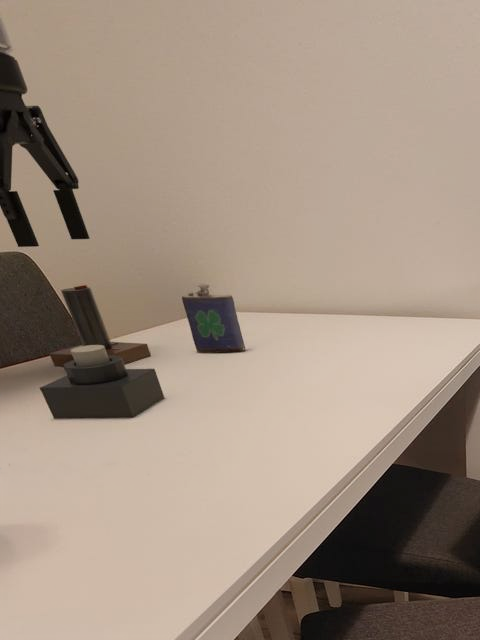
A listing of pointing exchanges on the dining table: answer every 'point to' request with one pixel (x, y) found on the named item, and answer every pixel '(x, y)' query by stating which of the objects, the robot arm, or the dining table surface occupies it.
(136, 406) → the button base
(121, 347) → the brown wooden flat block
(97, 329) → the black tall block
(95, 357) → the white short cylinder
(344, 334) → the dining table surface
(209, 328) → the flask
